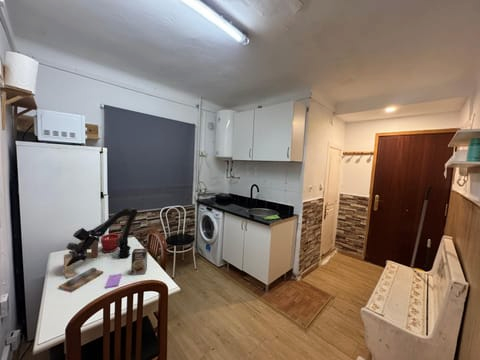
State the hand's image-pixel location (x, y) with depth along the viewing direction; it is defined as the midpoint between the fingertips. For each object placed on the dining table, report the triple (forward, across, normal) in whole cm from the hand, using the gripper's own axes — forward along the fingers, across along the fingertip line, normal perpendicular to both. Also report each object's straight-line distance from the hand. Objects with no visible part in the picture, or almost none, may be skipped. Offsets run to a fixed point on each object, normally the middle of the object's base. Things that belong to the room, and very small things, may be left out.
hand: (65, 264), depth 125 cm
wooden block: (-7, -16, +17) cm, 24 cm away
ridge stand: (+1, +15, +8) cm, 17 cm away
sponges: (-7, +30, +17) cm, 35 cm away
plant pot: (-18, -18, +28) cm, 38 cm away
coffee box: (-18, +31, +28) cm, 46 cm away
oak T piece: (+4, 0, +6) cm, 7 cm away
